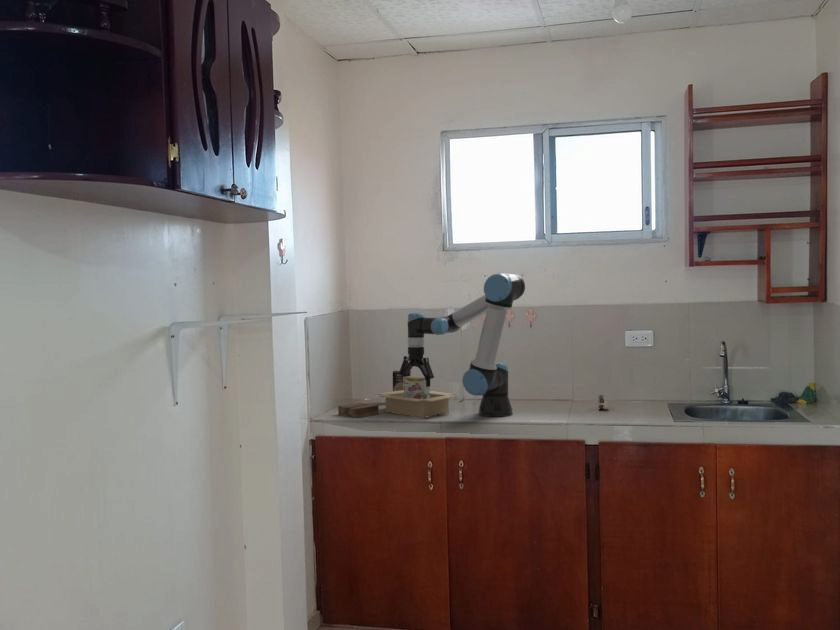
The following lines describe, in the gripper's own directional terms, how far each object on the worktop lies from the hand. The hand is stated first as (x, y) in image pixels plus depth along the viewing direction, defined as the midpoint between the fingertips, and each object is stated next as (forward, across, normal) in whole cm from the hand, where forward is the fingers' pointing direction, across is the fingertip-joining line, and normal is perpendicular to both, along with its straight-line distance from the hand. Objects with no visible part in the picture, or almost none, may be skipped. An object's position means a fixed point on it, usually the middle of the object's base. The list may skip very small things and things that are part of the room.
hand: (416, 392), depth 349 cm
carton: (+9, 0, 0) cm, 9 cm away
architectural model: (+9, -62, -58) cm, 86 cm away
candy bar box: (+10, 0, 0) cm, 10 cm away
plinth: (+10, +16, +21) cm, 28 cm away
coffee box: (+10, +24, -14) cm, 29 cm away
